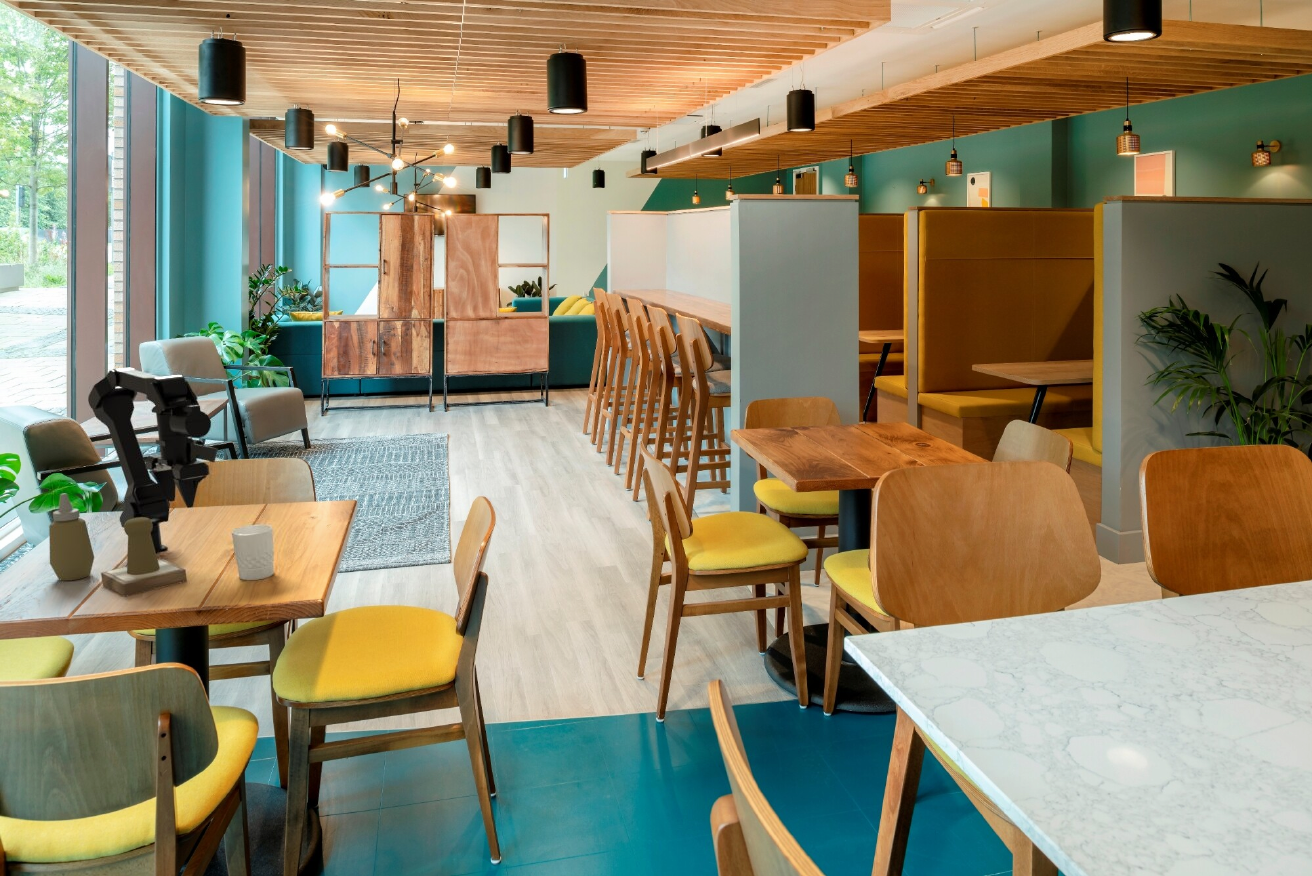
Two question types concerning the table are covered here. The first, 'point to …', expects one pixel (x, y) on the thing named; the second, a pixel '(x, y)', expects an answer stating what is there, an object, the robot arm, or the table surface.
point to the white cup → (254, 551)
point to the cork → (140, 547)
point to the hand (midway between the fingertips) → (180, 504)
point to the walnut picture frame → (143, 578)
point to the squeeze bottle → (69, 543)
